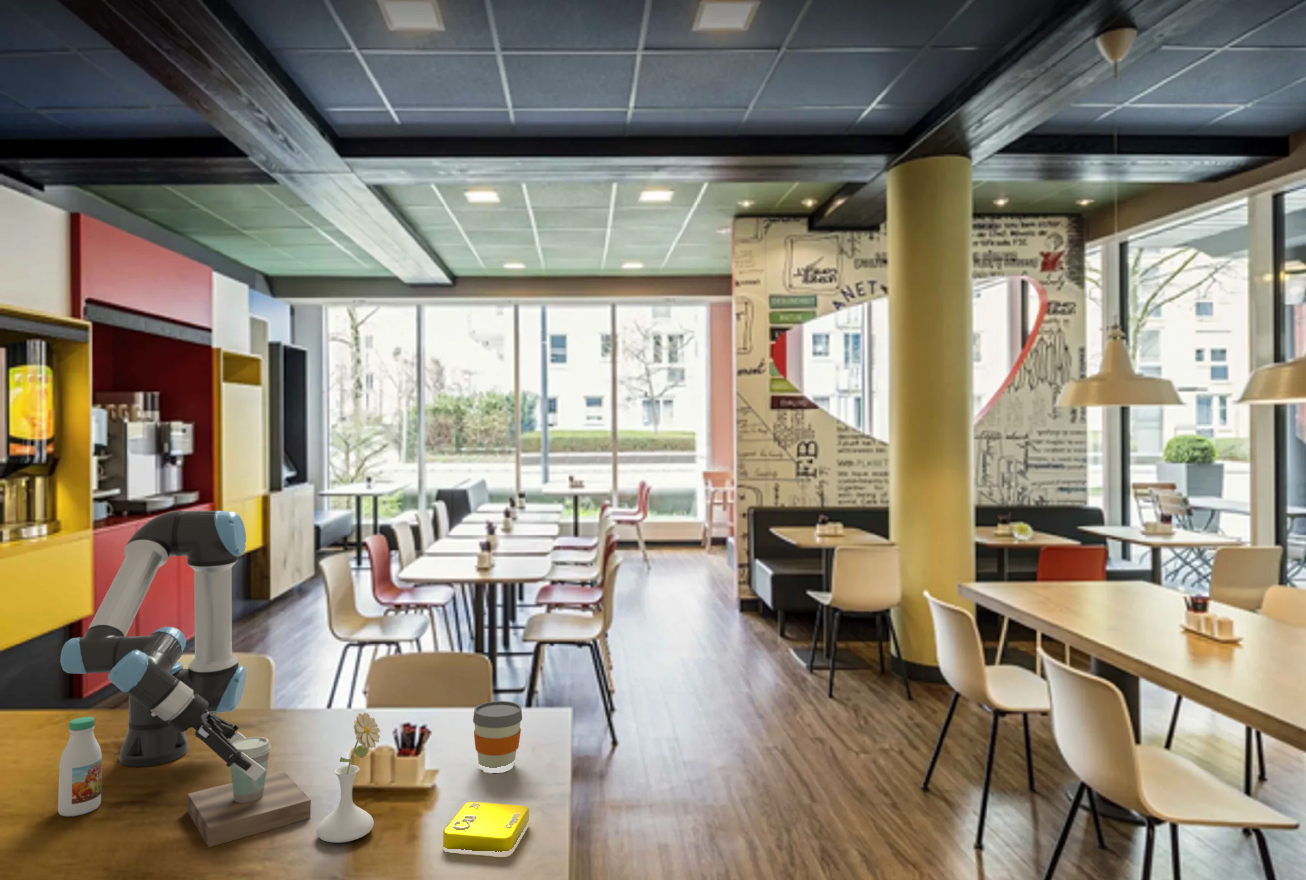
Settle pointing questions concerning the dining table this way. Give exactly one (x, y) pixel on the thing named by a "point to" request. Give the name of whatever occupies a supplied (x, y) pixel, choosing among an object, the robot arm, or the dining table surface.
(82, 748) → the milk bottle
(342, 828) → the flower in vase
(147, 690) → the robot arm
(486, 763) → the reusable coffee cup
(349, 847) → the dining table surface
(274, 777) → the walnut base
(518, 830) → the element tile
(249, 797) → the coffee cup
